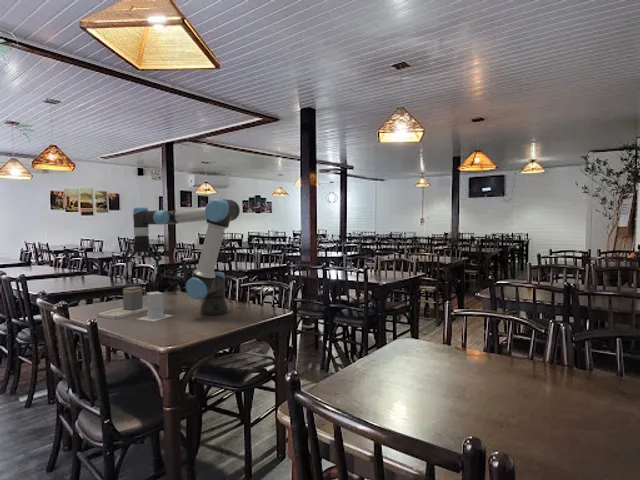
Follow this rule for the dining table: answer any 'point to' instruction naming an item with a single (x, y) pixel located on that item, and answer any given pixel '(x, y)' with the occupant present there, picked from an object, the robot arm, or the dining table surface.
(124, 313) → the beige rectangular board
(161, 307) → the small box
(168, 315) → the mat
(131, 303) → the twin block
